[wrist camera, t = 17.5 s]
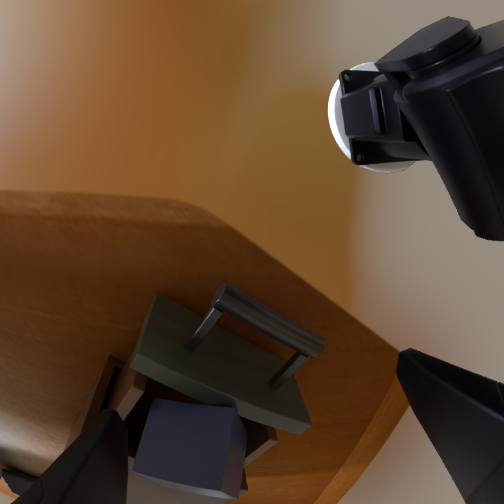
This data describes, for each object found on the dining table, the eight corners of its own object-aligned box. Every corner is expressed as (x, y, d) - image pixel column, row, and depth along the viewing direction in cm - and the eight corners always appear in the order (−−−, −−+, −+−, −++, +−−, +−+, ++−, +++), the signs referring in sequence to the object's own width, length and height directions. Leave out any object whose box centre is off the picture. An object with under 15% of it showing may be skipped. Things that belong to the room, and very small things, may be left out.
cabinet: (109, 354, 22) (79, 433, 14) (237, 413, 25) (248, 490, 17) (70, 431, 24) (51, 490, 16) (169, 473, 28) (167, 532, 20)
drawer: (193, 236, 19) (184, 280, 12) (326, 319, 22) (364, 377, 15) (93, 400, 22) (74, 457, 16) (201, 446, 25) (203, 502, 19)
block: (235, 407, 14) (220, 491, 11) (248, 434, 17) (238, 500, 13) (153, 397, 15) (131, 470, 11) (180, 426, 18) (165, 486, 14)
